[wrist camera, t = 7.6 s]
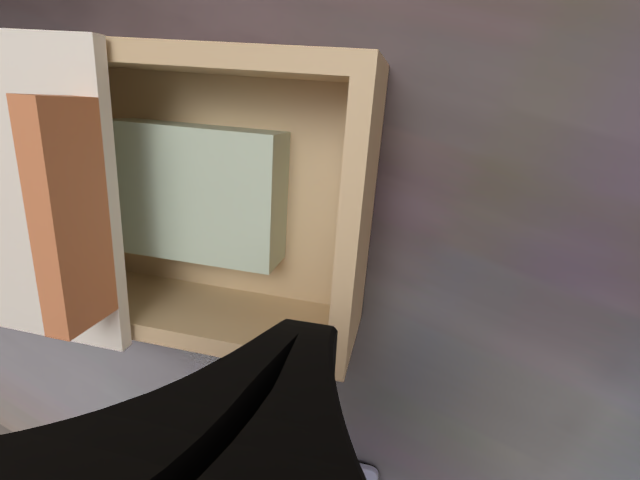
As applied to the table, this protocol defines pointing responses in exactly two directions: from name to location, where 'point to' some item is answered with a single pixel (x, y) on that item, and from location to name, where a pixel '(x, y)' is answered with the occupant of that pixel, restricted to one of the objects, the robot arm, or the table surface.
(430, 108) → the table surface
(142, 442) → the robot arm
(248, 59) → the mailer box
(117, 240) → the lid
